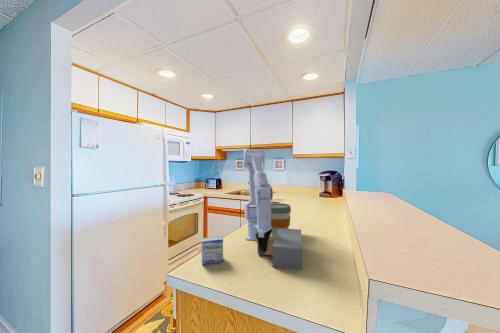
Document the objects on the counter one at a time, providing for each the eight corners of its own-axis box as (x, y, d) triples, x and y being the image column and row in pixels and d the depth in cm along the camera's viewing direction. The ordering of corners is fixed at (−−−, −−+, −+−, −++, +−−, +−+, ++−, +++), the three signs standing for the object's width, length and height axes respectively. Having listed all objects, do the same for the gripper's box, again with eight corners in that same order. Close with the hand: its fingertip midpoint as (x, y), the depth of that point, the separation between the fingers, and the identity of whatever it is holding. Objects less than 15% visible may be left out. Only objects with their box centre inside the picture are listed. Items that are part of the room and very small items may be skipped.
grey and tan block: (259, 249, 84) (259, 235, 84) (293, 252, 81) (293, 237, 81) (257, 253, 80) (257, 239, 80) (293, 257, 77) (293, 241, 77)
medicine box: (202, 265, 73) (201, 241, 73) (201, 260, 78) (201, 237, 77) (223, 262, 75) (223, 239, 75) (222, 257, 80) (221, 235, 80)
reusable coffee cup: (290, 230, 110) (289, 203, 110) (292, 239, 97) (292, 208, 97) (267, 230, 111) (266, 203, 111) (266, 238, 99) (266, 208, 99)
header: (278, 245, 90) (278, 228, 90) (301, 246, 88) (300, 229, 88) (272, 267, 71) (272, 245, 71) (301, 270, 69) (301, 248, 69)
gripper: (257, 211, 90) (258, 241, 90) (250, 220, 76) (250, 255, 76) (273, 211, 88) (274, 242, 88) (268, 220, 74) (269, 257, 74)
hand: (264, 248), depth 82 cm, fingers closed on grey and tan block, 4 cm apart
